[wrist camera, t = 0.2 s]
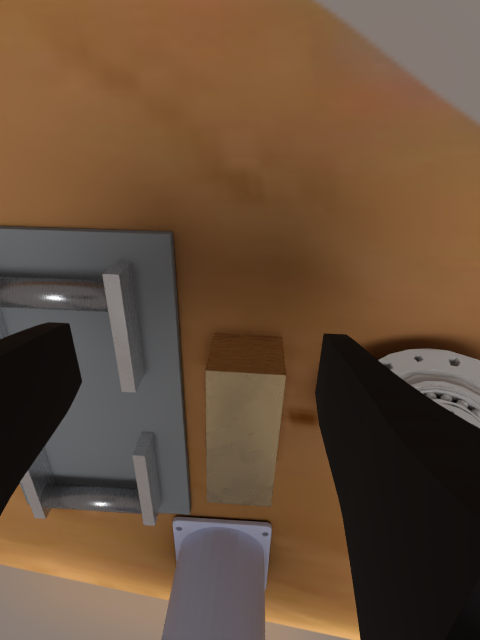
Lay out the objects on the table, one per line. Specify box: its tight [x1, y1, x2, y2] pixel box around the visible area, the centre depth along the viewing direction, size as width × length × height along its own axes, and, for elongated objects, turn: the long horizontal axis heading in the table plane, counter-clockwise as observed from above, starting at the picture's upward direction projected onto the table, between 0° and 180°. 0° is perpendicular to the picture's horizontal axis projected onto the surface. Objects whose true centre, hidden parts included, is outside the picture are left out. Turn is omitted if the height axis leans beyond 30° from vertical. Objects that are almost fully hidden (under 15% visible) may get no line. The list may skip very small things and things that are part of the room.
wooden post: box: [206, 334, 286, 507], centre depth 22 cm, size 10×4×4 cm, turn 178°
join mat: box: [0, 226, 191, 515], centre depth 23 cm, size 22×13×1 cm, turn 179°
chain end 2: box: [21, 432, 162, 526], centre depth 25 cm, size 7×9×2 cm
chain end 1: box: [0, 261, 146, 393], centre depth 19 cm, size 7×9×2 cm
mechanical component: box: [378, 348, 480, 428], centre depth 18 cm, size 10×4×10 cm
